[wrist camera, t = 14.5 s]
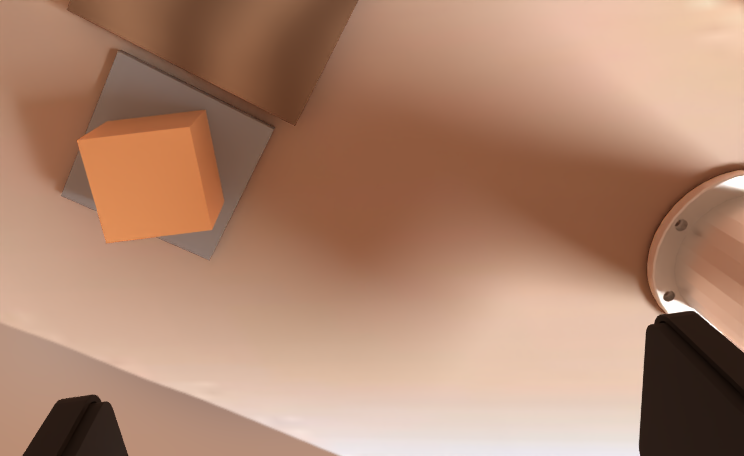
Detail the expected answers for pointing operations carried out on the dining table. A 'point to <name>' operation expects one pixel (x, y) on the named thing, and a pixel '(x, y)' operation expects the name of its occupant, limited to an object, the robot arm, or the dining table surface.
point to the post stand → (234, 42)
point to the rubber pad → (167, 96)
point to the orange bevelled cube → (153, 175)
